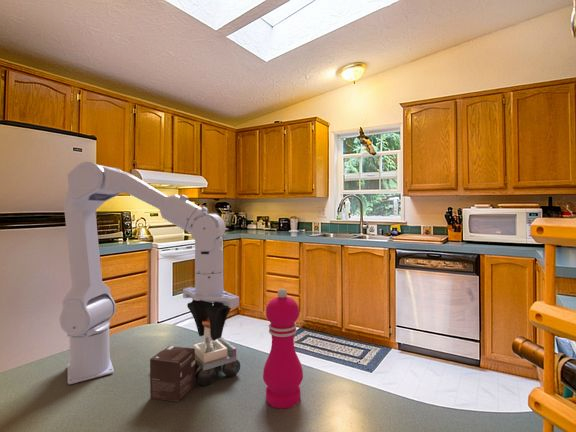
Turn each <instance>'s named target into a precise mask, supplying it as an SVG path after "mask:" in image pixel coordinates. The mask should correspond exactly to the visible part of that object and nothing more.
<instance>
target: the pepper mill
mask: <svg viewBox="0 0 576 432" xmlns="http://www.w3.org/2000/svg"><path fill="white" fill-rule="evenodd" d="M265 316H266V319H267V320H268V321H269V324H268V328H269V329H268V333H269V334H270V335H271V347H270V351H269V353H268V356H267V359H266V361H265V364H264V365H263V366H264V367H263V371H262V372H263V373H262V378H263V382H264V383H265V385H266V388H265V399H266V402H267V404H268V405H270V406H271V407H273V408H276V409H289V408H293V407H294V406H297V405H298V404H299V402H300V400H301V387H300V385H301V383H302V381H303V378H304V373H303V372H304V371H303V366H302V362H301V361H300V359H299V357H298V355H297V352H296V349H295V340H294V339H295V335H296V333H297V330H298V329H297V323H296V321H297V320H298V318H299V316H300V308H299V304H298V303H297V301H296V300H294V298H291V297H289V296H288V291H287V289H286V288H279V289H278V291H277V296H276V297H274V298H271V299H270V300H269V302H268V304H266V309H265Z"/></svg>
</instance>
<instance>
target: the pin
mask: <svg viewBox="0 0 576 432" xmlns="http://www.w3.org/2000/svg"><path fill="white" fill-rule="evenodd" d="M202 325H203V326H204V335H203V342H204V349H203V351H204V352H205V353H208V352H212V351H215V340H212V338H211V328H210V320H209V317H206V318H203V319H202Z"/></svg>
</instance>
